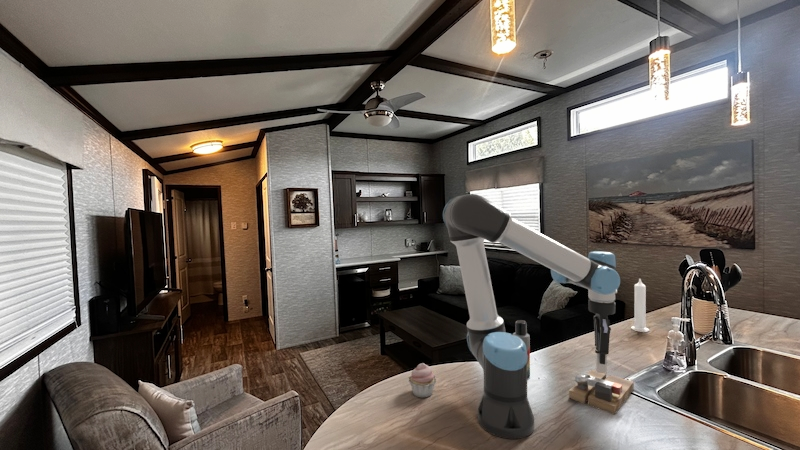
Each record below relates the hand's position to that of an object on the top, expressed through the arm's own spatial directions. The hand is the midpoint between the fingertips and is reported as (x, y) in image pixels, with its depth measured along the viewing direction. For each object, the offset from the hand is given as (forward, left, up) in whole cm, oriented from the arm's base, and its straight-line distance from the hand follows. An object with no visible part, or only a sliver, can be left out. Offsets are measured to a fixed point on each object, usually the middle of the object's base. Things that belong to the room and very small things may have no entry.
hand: (601, 372), depth 112 cm
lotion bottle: (-9, +23, -6) cm, 26 cm away
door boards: (-2, 0, -6) cm, 6 cm away
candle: (+75, +6, -6) cm, 76 cm away
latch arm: (-7, -1, -2) cm, 7 cm away
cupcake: (-42, +40, -6) cm, 58 cm away
